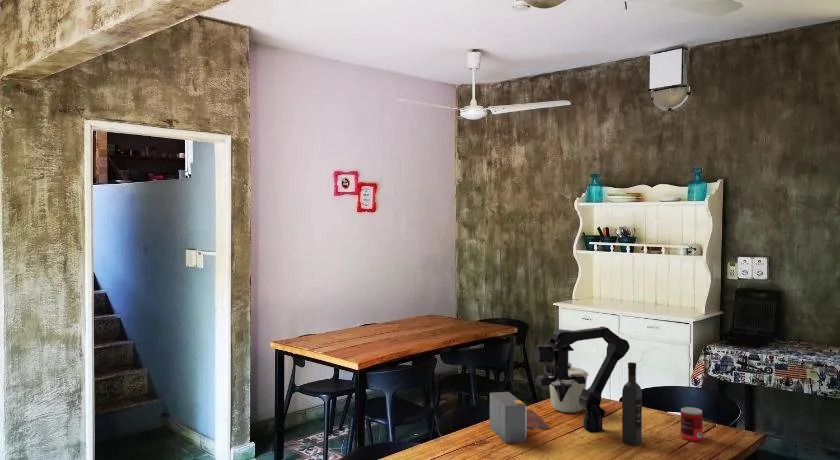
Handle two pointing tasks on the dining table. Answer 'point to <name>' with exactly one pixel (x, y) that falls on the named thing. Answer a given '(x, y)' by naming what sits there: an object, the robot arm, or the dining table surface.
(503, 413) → the small drawer cabinet
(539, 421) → the wooden tablet
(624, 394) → the wine bottle
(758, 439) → the dining table surface
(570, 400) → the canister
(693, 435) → the canned food
